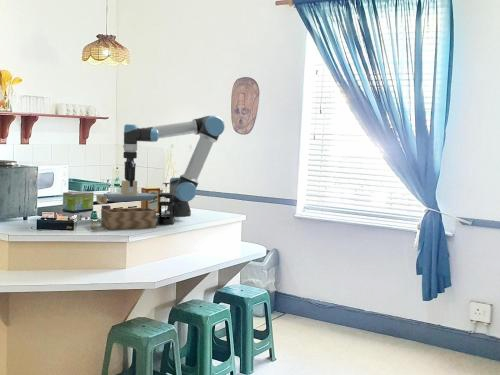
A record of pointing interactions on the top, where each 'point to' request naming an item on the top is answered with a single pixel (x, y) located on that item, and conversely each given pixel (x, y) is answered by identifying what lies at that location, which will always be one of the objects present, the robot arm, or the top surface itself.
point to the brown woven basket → (127, 218)
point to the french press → (172, 209)
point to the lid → (129, 194)
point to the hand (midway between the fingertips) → (129, 191)
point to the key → (101, 199)
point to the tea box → (78, 204)
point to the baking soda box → (154, 201)
